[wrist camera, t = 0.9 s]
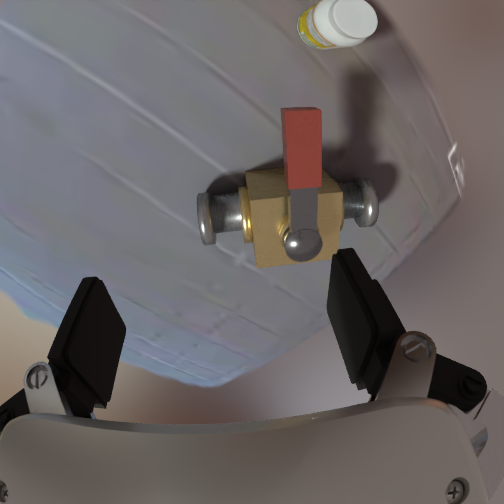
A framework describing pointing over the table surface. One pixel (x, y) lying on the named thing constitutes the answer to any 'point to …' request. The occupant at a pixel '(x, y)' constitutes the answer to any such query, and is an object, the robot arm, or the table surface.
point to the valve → (284, 213)
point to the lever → (302, 180)
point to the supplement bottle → (337, 24)
